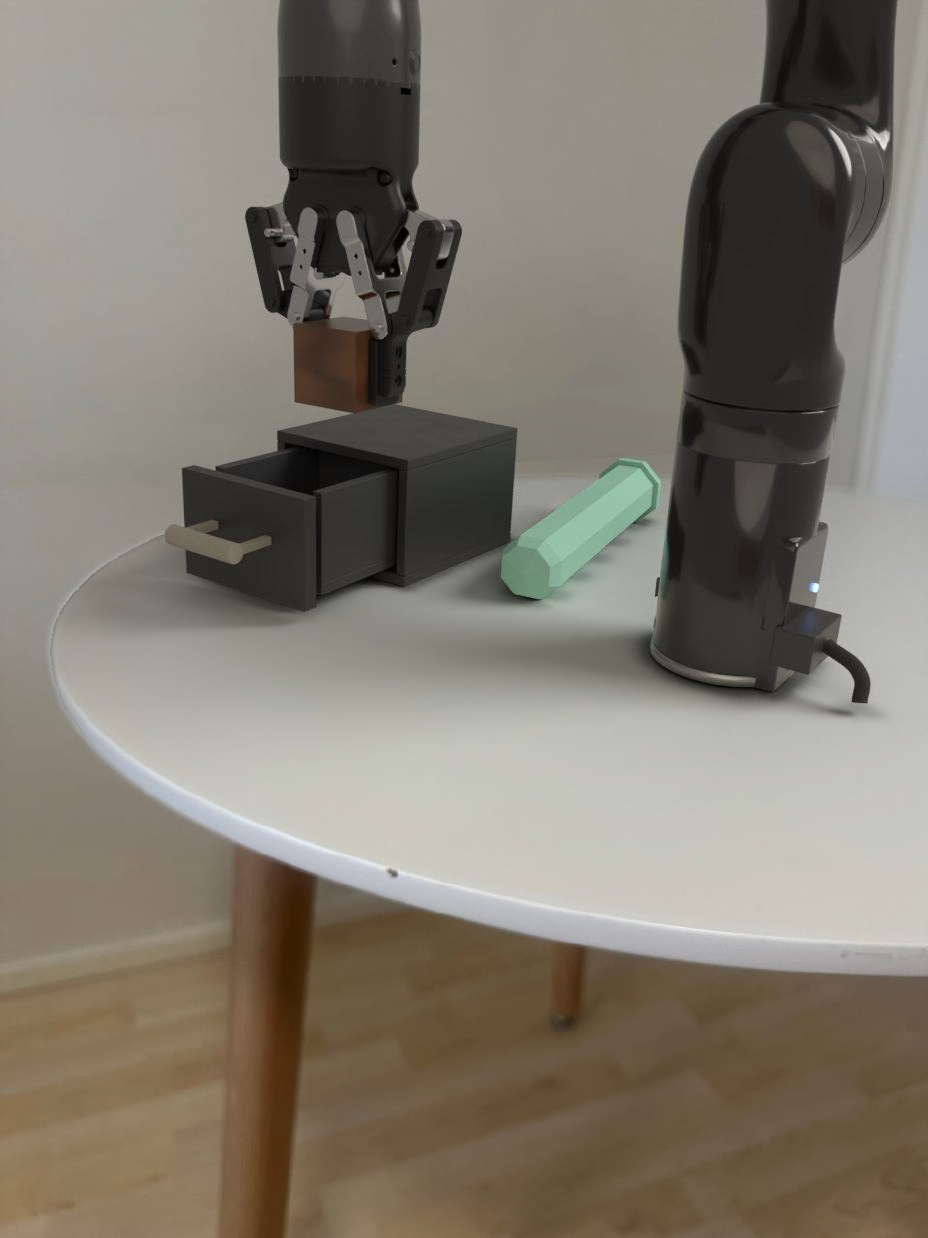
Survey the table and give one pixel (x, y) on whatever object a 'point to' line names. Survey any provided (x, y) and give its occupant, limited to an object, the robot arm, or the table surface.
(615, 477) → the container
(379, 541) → the drawer
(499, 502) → the small storage cabinet
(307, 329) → the block
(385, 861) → the table surface
